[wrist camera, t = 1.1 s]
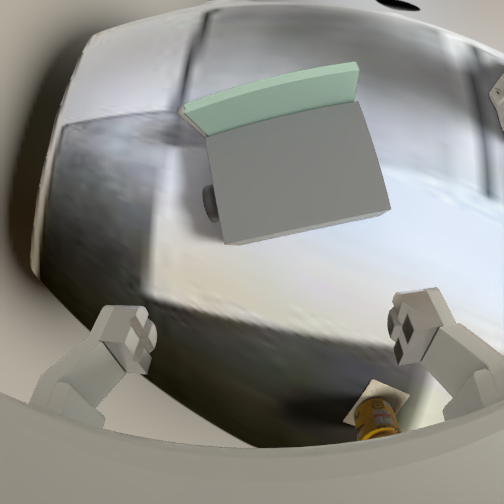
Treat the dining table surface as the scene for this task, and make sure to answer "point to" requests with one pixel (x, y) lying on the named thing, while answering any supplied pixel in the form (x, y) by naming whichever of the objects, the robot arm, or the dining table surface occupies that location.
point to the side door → (272, 98)
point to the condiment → (376, 411)
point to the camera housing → (294, 175)
